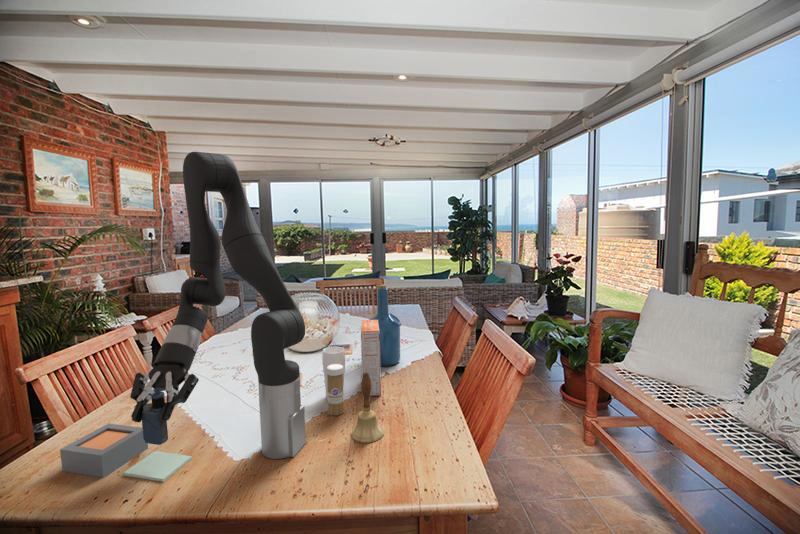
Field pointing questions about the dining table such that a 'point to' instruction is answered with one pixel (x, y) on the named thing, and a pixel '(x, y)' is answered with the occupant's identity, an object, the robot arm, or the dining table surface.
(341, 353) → the drinking glass
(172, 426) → the dining table surface
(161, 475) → the pad
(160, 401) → the vaping device
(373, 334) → the cracker box
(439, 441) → the dining table surface
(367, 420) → the hand bell
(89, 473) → the box
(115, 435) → the button
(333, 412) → the sprinkles bottle
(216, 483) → the dining table surface
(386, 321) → the wine bottle
